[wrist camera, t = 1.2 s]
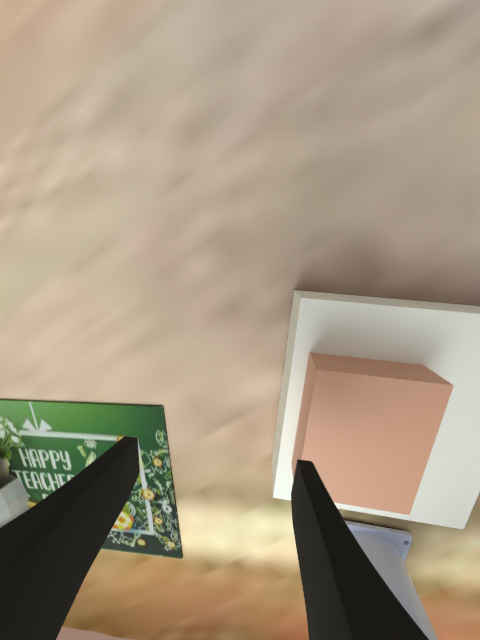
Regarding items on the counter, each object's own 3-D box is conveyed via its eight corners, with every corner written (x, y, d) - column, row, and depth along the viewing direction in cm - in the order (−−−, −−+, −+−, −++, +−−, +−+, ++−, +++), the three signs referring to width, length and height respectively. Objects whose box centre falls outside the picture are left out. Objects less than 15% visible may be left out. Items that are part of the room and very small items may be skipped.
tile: (389, 478, 17) (409, 515, 14) (291, 463, 18) (294, 495, 15) (423, 364, 15) (453, 385, 12) (309, 352, 15) (316, 369, 13)
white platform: (427, 480, 21) (463, 529, 17) (272, 456, 22) (272, 497, 19) (488, 306, 17) (553, 320, 13) (294, 289, 18) (301, 297, 14)
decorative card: (-143, 603, 24) (-247, 441, 20) (-47, 523, 32) (-106, 392, 27) (154, 655, 20) (117, 469, 16) (184, 550, 28) (165, 402, 23)
